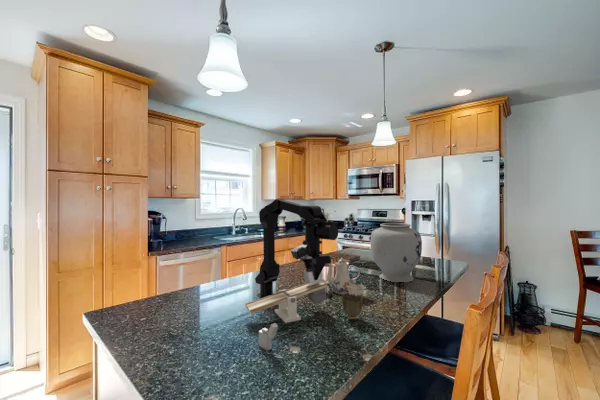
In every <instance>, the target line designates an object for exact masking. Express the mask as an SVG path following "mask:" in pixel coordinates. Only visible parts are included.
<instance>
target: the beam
mask: <svg viewBox="0 0 600 400" xmlns="http://www.w3.org/2000/svg"><path fill="white" fill-rule="evenodd" d="M326 287H328V285H327V286H326V284H324V283H322V282H320V283H317V284H314V285H311V286H310V285H308V284H307V283H305V282H304V283H303V284H300V285H296V286H294V287H293V286H292V287H290V288H288V289H286V290H284V289H283V290H284V291H281V292H276V293H273V295H270V296H267V297H264V298H258V299H256V300H252V301H249V302H246V303H245V304H244V305H245V308H246V309H247V311H248V312H249V313H250V314H251V315H252V314H255V313H257V312H260V311H264V310H267V309H269V308H272V307H274V306H279V304H281V303H283V302H286V301H287V297H293V296H296V299H297V298H300V297H303V296H306V295H307V298H308V300H309V301H310V302H312V303H314V304H315V305H316V304H319V303H321V302H325V301H327V300H328V298H327V292H326V291H327V290H325V288H326ZM326 289H327V288H326Z"/></svg>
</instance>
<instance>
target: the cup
mask: <svg viewBox="0 0 600 400" xmlns="http://www.w3.org/2000/svg"><path fill="white" fill-rule="evenodd" d="M363 298H364V297H363ZM363 298H362V297H361V295H360V296H358V295H357V296H355V294H353V295H352V294H351V295H350V294H341V303H342V309H343V312H344V313H345V314H346V315H347V317H346V318H347V319H348V320H349V321H357V320H358V316H360V314H361V312H362V308H363V300H364V299H363Z"/></svg>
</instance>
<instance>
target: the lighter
mask: <svg viewBox="0 0 600 400" xmlns="http://www.w3.org/2000/svg"><path fill="white" fill-rule="evenodd" d="M278 329H279V325H278V324H277V323H276V322H274V323H272V324H270V326H269V328H266V327H264V328H263V327H262V329H260V330H258V346H259V347H260V348H262V349H263V350H265V351H270V350H272V343H273V342H272V339H274V338H275V336H276V334H277V332H278Z"/></svg>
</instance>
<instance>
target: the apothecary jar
mask: <svg viewBox="0 0 600 400" xmlns="http://www.w3.org/2000/svg"><path fill="white" fill-rule="evenodd" d="M379 226H380V227H378V228H376V229H374V230H373V231H372V232H371V234H370V251H371V255H372V259H373V261H374V263H375V264H376V265H377V266H378V268H379V269H380V270H381V272H382V273H381V274H379V278H380V279H381V278H382V279H381V280H383V279H384V281H385V280H387V281H386V282H390V281H391V282H390V283H399V282H404V283H410V281H411V282H413V281H414V278H415V277H413V275H411V273H412V272H413V270H415V268H416V266H417V265H418V264H419V262H420V259H421V257H422V250H423V240H422V234H421V233H420V232H419V231H418V230H416V229H413V228H411V224H410V223H404V222H383V223H381V224H380V225H379Z"/></svg>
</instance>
